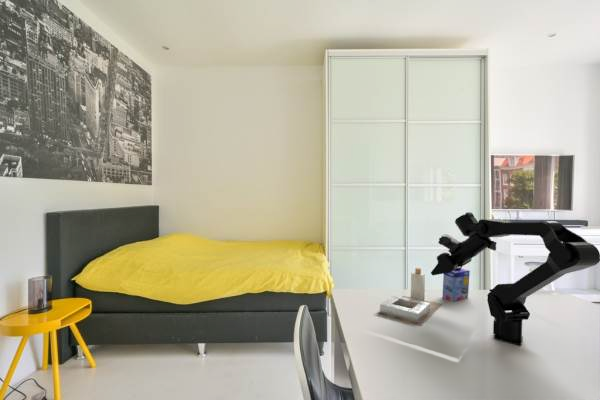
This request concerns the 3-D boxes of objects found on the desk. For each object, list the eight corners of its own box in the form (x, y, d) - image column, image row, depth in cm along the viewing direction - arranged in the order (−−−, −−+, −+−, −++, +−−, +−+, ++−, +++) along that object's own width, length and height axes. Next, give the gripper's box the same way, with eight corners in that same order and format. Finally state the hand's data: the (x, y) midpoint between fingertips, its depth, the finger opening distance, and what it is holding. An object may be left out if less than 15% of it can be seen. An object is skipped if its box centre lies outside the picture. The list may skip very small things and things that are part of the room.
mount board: (442, 306, 116) (442, 304, 116) (421, 328, 97) (421, 325, 97) (403, 297, 125) (403, 295, 125) (376, 315, 106) (376, 313, 106)
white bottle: (426, 302, 118) (426, 268, 118) (422, 305, 114) (422, 270, 114) (413, 299, 121) (413, 266, 121) (408, 302, 118) (409, 268, 117)
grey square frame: (429, 311, 109) (430, 303, 109) (417, 323, 99) (418, 313, 99) (394, 302, 117) (394, 295, 117) (379, 312, 107) (380, 304, 107)
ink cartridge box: (454, 303, 119) (455, 266, 119) (441, 299, 124) (442, 263, 124) (469, 299, 124) (470, 264, 124) (456, 295, 129) (457, 261, 129)
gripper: (463, 225, 114) (432, 250, 122) (444, 230, 101) (410, 257, 109) (486, 250, 109) (452, 274, 117) (469, 258, 95) (432, 284, 104)
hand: (436, 271), depth 112 cm, fingers open, 9 cm apart
